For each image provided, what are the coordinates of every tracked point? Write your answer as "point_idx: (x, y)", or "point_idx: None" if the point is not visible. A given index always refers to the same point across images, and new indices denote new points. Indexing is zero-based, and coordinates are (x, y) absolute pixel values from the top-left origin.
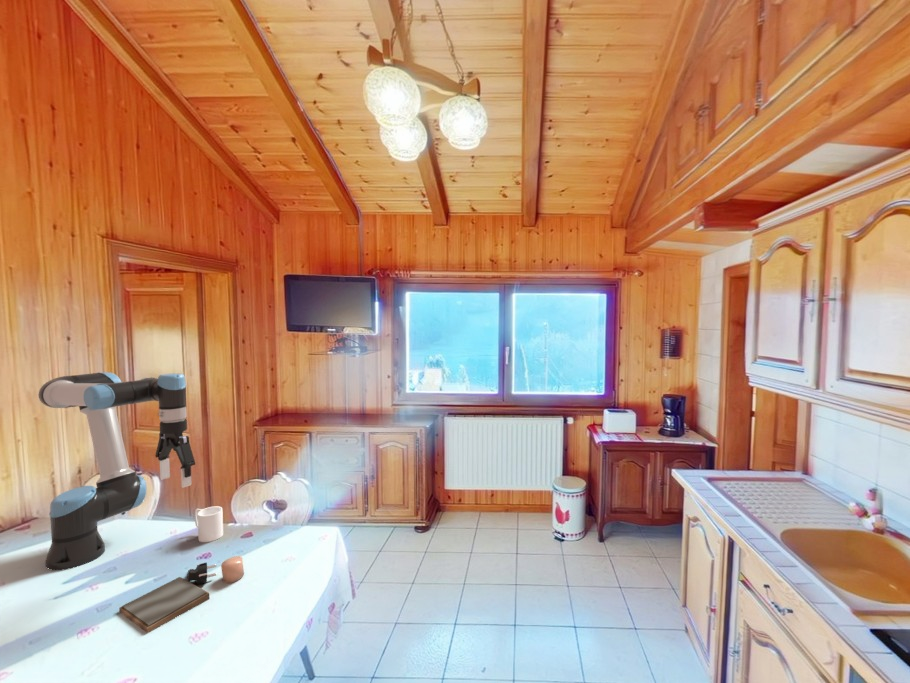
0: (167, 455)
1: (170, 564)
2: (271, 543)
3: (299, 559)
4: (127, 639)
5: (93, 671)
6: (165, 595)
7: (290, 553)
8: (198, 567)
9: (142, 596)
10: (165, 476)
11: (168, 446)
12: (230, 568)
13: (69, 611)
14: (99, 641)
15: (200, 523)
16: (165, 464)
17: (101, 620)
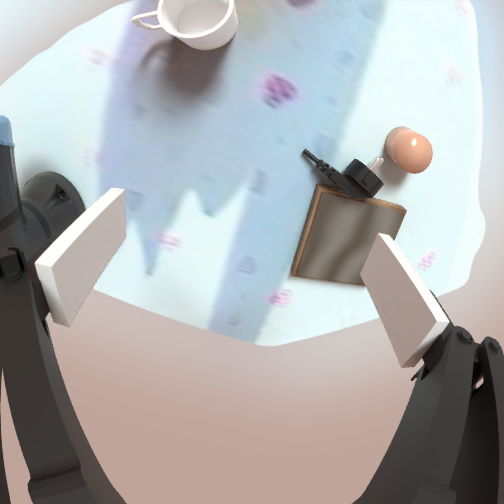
0: (35, 311)
1: (230, 142)
2: (387, 21)
3: (468, 78)
4: (348, 290)
5: (351, 323)
6: (344, 238)
7: (446, 58)
8: (371, 192)
9: (306, 252)
10: (119, 221)
11: (116, 498)
12: (422, 170)
13: (207, 284)
14: (316, 302)
15: (197, 41)
16: (78, 269)
17: (276, 282)
